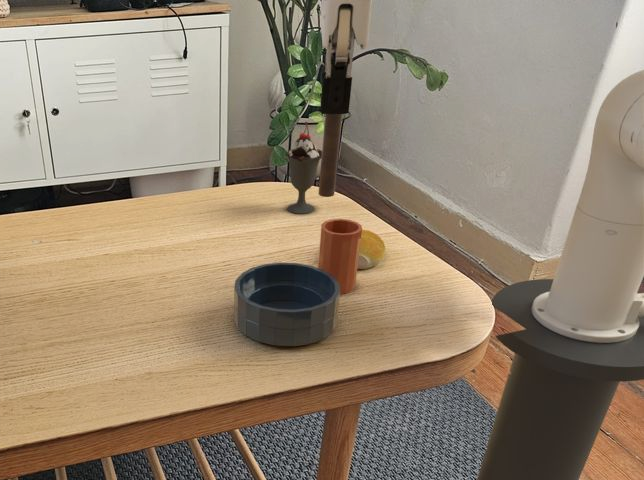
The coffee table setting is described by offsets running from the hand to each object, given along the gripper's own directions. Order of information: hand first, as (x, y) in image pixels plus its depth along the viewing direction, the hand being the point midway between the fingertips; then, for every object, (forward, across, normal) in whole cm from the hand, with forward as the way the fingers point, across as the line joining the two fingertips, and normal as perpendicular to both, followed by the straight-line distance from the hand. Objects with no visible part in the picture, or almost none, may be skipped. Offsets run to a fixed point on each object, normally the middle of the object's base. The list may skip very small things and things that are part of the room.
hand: (334, 109), depth 77 cm
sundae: (+25, +32, +3) cm, 41 cm away
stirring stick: (+11, 0, 0) cm, 11 cm away
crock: (+25, +3, -3) cm, 25 cm away
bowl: (+25, -8, +4) cm, 27 cm away
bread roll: (+25, +12, -6) cm, 29 cm away
